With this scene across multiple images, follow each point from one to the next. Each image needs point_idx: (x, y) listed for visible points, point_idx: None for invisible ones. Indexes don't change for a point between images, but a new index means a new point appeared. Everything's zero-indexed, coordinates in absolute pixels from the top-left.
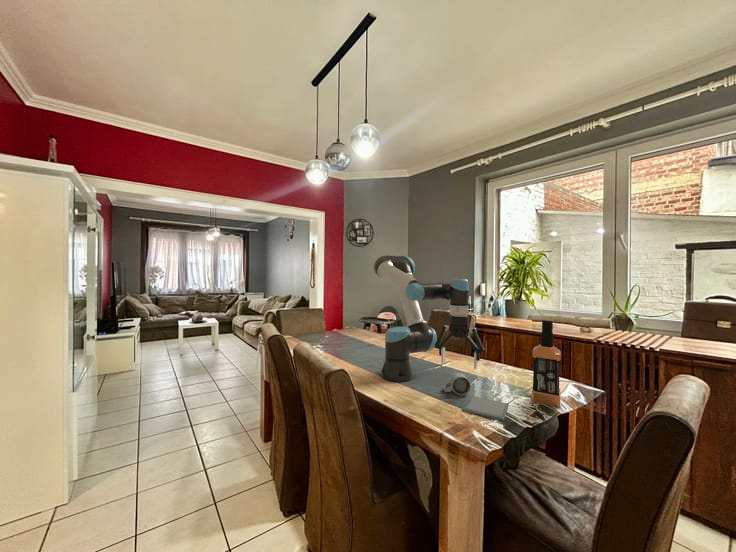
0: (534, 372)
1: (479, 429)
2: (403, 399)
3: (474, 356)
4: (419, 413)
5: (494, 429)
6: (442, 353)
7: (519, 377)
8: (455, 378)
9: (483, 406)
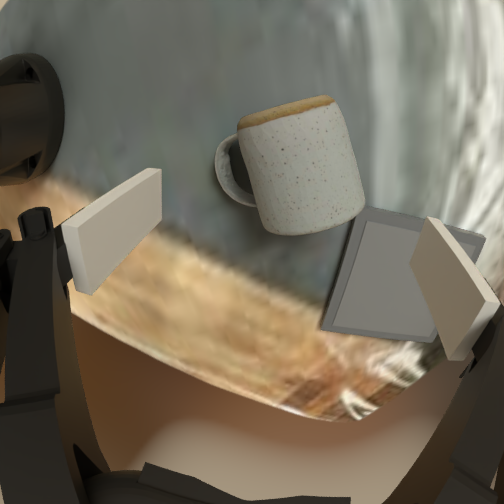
0: None
1: (358, 384)
2: (129, 302)
3: (441, 332)
4: (206, 361)
5: (393, 375)
6: (112, 265)
7: None
8: (278, 232)
9: (395, 295)
